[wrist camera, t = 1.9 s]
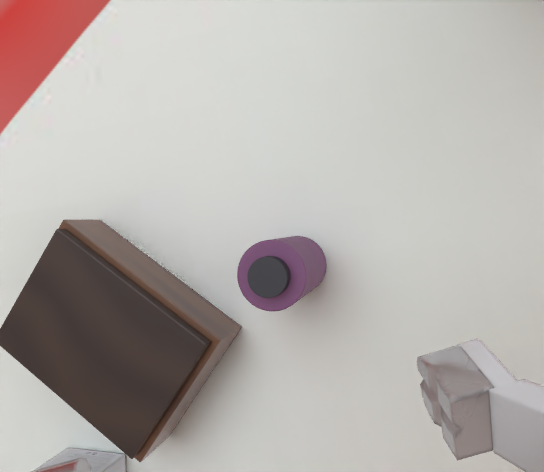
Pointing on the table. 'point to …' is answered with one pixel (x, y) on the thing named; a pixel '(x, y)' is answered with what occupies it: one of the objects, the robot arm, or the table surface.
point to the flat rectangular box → (115, 335)
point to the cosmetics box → (91, 460)
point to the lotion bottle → (280, 272)
